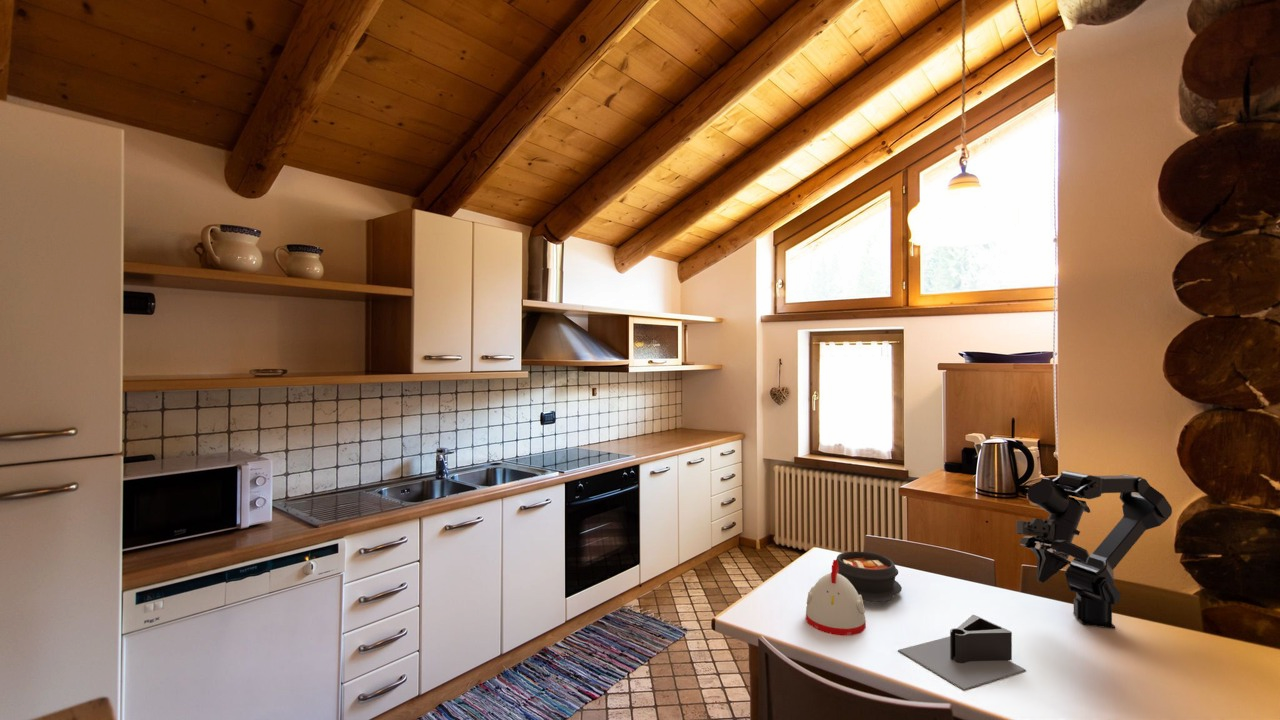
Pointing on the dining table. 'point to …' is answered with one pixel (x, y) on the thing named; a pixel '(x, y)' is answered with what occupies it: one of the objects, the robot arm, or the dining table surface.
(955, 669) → the mat
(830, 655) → the dining table surface
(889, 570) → the casserole
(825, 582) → the kitchen timer
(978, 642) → the phone stand
